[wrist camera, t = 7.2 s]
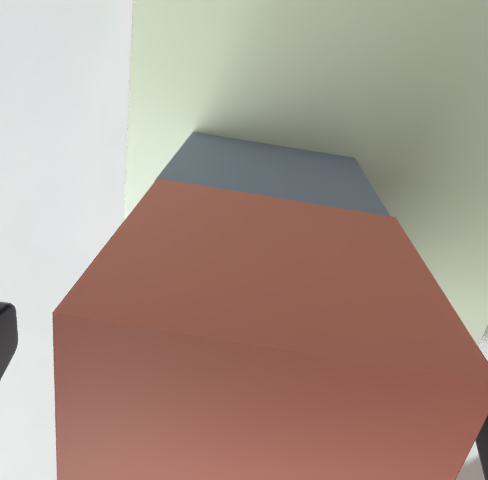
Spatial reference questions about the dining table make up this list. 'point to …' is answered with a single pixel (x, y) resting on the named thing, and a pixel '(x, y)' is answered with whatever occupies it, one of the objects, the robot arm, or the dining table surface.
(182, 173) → the blue brick
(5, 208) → the dining table surface
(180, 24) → the build board
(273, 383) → the red brick
